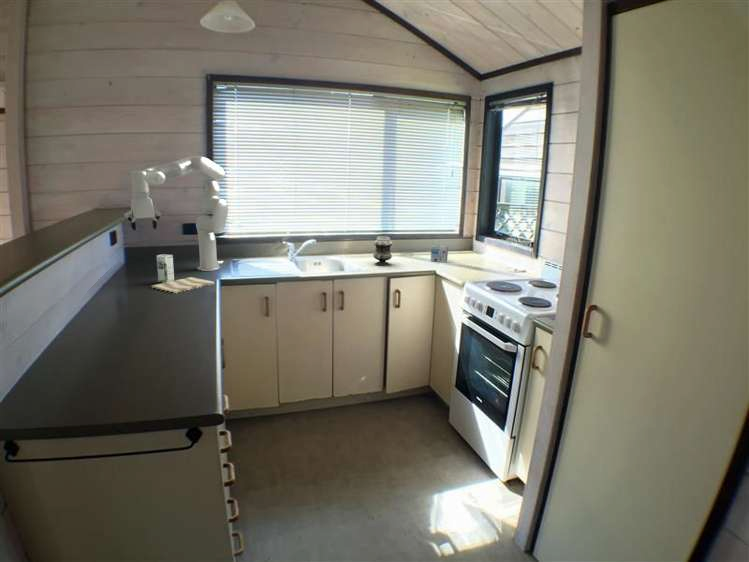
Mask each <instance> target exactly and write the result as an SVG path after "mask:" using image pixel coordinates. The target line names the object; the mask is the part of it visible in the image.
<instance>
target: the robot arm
mask: <svg viewBox="0 0 749 562" xmlns="http://www.w3.org/2000/svg"><path fill="white" fill-rule="evenodd" d="M193 173H198V176H199V178H200V180H201V181H202V183H203V186H204V193H203V199H202V204H201V210H202V211H203V213H206V214H208V215H200V216H199V217H198V218H197V219H196V221H195V227H196V231H197V235H198V236H197V237H198V250H199V266H197V270H198V271H200V270H201V272H212V271H218V270H220V269H221V266H220V265H224V264H223V263H224V260H218V257H217V256H218V255H217V238H216V235H215V234H221V233H223V231H224V229H225V226H226V222H227V218H228V213H229V212H228V211H229V204H228V202H227V201H226V200H225V199H224V198H221V197H220V195H221V187H220V184H219V182H221V181H223V180H224V178H225V176H226V173H225V170H224V168H223V167H222V166H221V165H219V164H217V163H215V162H214V161H212V160H211V159H210V158H207V157H206V156H202V155H191V156H187V157H184V158H181V159H177V160H175V161H172V162H168V163H167V162H166V163H164V164H159V165H155V166H151V167H148V168H144V169H142V170H132V171H131V172H130V178H131V186H132V187H131V188H132V197H133V198H131V200H130V202H131V204H130V210H129V211H127V212H125V213H124V217H125V219H127V220H128V221H129V222H130V224H131V229H132V230H133V231H136V230H137V226H136V222H135V221H137V220H139V219H152V229H154V230H157V227H158V223H157V221H158V220H159V219H160V217H161V215H162V212H161V211H159V210H157V209H155V208H154V204H153V200H152V198H151V196H152V197H153V192H150V186H151V185H152V186H161V185H163V184H164V183H165V181H166V179H169V180H170V179H178V178H181V177H184V176H187V175H189V174H193ZM155 214H156V216H155ZM210 214H211V215H210ZM129 215H131V217H130V216H129Z"/></svg>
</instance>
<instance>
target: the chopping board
mask: <svg viewBox="0 0 749 562" xmlns="http://www.w3.org/2000/svg"><path fill="white" fill-rule="evenodd" d="M211 284H212V285H214V284H215V281H211V280H207V279H204V278H203V279H202V278H197V277H192V276H190V277H186V278H184V277H183V278H181V279H176V280H175V279H174V281H171V282H166V283H158V284H153V285H151V286H150V287H152V288H151V289H153V288H156V289H155V290H157V289H161V290H160V291H162V290H165V291H164V292H166V291H169V292H168V293H170V292H173V293H172V294H175V293H176V294H179V293H178V292H180V293H183V292H182V291H184V292H187V291H186V290H188V291H191V289H192V290H195V288H196V289H200V288H203V286H204V287H207V285H208V286H211ZM199 287H200V288H199Z"/></svg>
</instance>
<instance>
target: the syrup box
mask: <svg viewBox="0 0 749 562" xmlns="http://www.w3.org/2000/svg"><path fill="white" fill-rule="evenodd" d="M173 256H174V255H173V254H157V255H156V265H157V281H158V283H159V282H162V283H166V282H171V281H175V272H174V271H175V270H174V257H173ZM162 283H161V284H162Z"/></svg>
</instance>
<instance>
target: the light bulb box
mask: <svg viewBox="0 0 749 562" xmlns="http://www.w3.org/2000/svg"><path fill="white" fill-rule="evenodd" d="M430 250H431V251H430V262H432V263H442V264H443V263H445V264H446V263H447V262H448V256H449V255H448V253H449V245H443V244H442V245H440V244H432V245H431V249H430Z"/></svg>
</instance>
